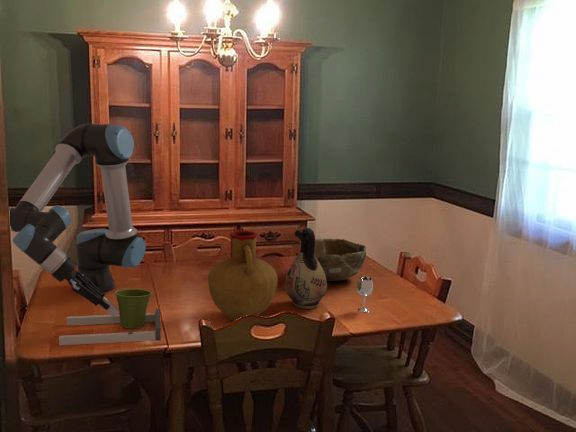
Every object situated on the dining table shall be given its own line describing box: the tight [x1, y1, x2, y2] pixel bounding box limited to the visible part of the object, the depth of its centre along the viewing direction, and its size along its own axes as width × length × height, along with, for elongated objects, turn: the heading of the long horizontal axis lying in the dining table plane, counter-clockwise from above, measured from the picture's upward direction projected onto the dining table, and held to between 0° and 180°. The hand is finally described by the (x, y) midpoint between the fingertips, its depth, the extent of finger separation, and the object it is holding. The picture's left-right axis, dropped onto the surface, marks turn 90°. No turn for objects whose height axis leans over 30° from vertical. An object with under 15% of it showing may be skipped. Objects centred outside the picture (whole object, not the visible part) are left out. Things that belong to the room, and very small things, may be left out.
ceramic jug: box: [284, 227, 328, 310], centre depth 228 cm, size 17×15×30 cm
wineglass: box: [356, 276, 374, 313], centre depth 226 cm, size 6×6×12 cm
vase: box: [207, 230, 278, 321], centre depth 214 cm, size 24×24×30 cm
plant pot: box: [114, 288, 153, 330], centre depth 205 cm, size 12×12×11 cm
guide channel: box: [58, 308, 161, 346], centre depth 201 cm, size 30×18×4 cm, turn 101°
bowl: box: [314, 238, 367, 282], centre depth 261 cm, size 28×27×15 cm
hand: (116, 313), depth 200 cm, fingers closed
